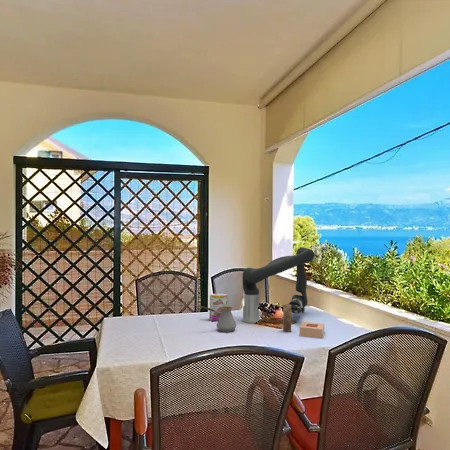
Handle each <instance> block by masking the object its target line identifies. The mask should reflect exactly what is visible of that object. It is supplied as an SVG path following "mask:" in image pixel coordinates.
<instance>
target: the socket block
mask: <svg viewBox="0 0 450 450" xmlns="http://www.w3.org/2000/svg"><path fill="white" fill-rule="evenodd" d="M324 335H325V323H320V322H309V321H302V323H301V324H300V326H299V336H298V337H305V338H306V337H307V338H313V339H314V338H316V339H323V337H324Z"/></svg>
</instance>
